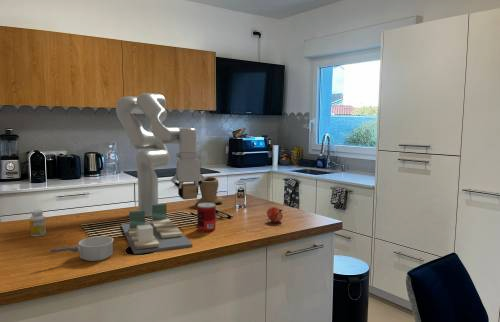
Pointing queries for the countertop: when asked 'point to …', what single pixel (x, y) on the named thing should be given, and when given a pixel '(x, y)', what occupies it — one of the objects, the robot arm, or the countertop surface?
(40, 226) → the supplement bottle
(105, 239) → the saucepan
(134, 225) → the broken strip
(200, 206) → the canned food
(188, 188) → the cube
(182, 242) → the mat
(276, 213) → the pomegranate
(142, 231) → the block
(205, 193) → the stone cup
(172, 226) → the strip
